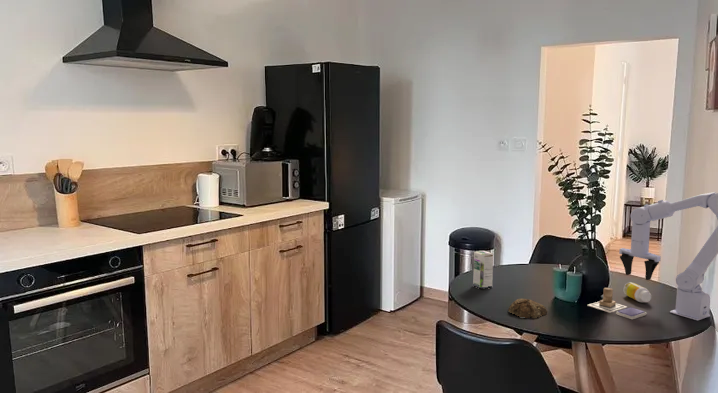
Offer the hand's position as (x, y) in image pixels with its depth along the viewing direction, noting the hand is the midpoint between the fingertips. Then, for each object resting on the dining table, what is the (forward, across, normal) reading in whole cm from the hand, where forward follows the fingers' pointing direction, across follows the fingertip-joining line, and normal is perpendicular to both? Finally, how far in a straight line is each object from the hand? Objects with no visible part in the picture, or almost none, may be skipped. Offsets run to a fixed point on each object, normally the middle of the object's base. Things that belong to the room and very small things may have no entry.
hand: (638, 277), depth 198 cm
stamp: (+10, +4, +12) cm, 16 cm away
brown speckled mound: (+10, +15, +41) cm, 45 cm away
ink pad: (+10, -6, +12) cm, 17 cm away
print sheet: (+10, +4, +12) cm, 16 cm away
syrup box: (+10, +45, +33) cm, 57 cm away
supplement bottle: (+7, +7, -6) cm, 11 cm away
